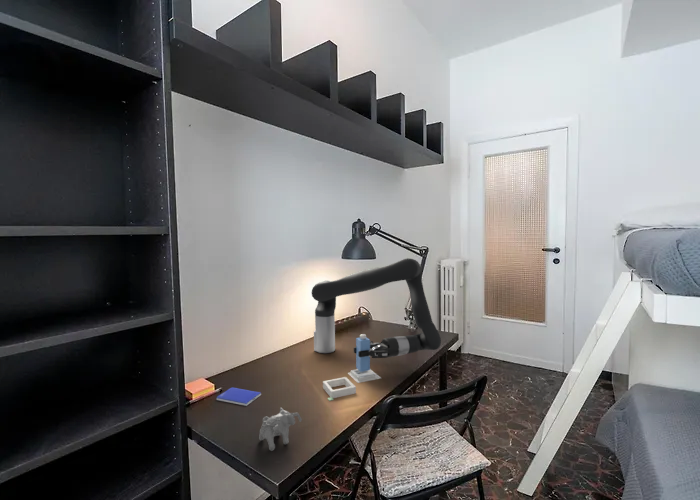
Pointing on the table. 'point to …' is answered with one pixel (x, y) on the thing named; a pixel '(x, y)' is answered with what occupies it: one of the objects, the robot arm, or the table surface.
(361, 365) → the blue square bottle
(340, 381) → the frame
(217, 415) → the table surface
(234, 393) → the hard drive
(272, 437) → the elephant statuette
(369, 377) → the white square tray
